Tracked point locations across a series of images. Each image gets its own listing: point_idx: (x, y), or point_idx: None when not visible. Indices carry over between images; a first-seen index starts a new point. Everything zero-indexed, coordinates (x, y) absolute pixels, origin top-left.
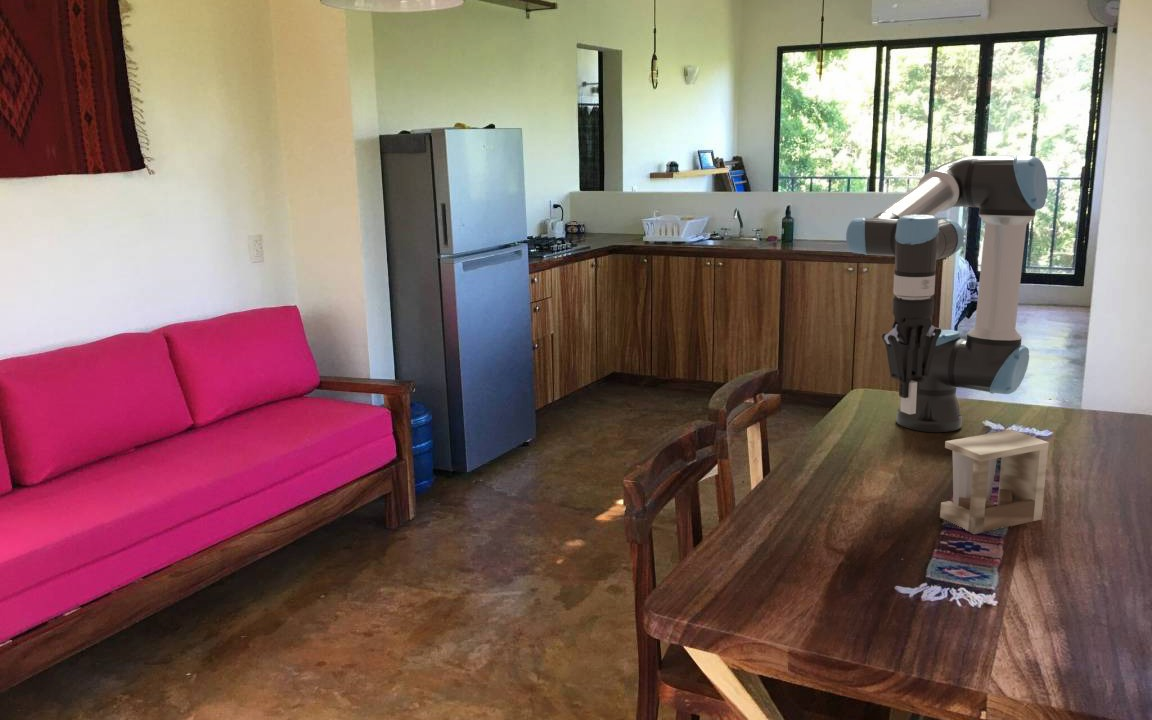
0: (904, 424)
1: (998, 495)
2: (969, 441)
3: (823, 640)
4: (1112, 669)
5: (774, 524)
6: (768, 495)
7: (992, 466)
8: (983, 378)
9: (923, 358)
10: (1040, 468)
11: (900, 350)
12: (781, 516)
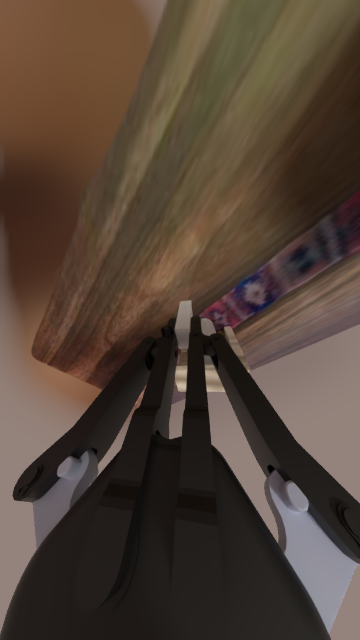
0: None
1: (225, 331)
2: None
3: (91, 381)
4: None
5: (79, 308)
6: (75, 260)
7: (209, 360)
8: None
9: (223, 377)
10: None
11: (144, 400)
12: (84, 299)
